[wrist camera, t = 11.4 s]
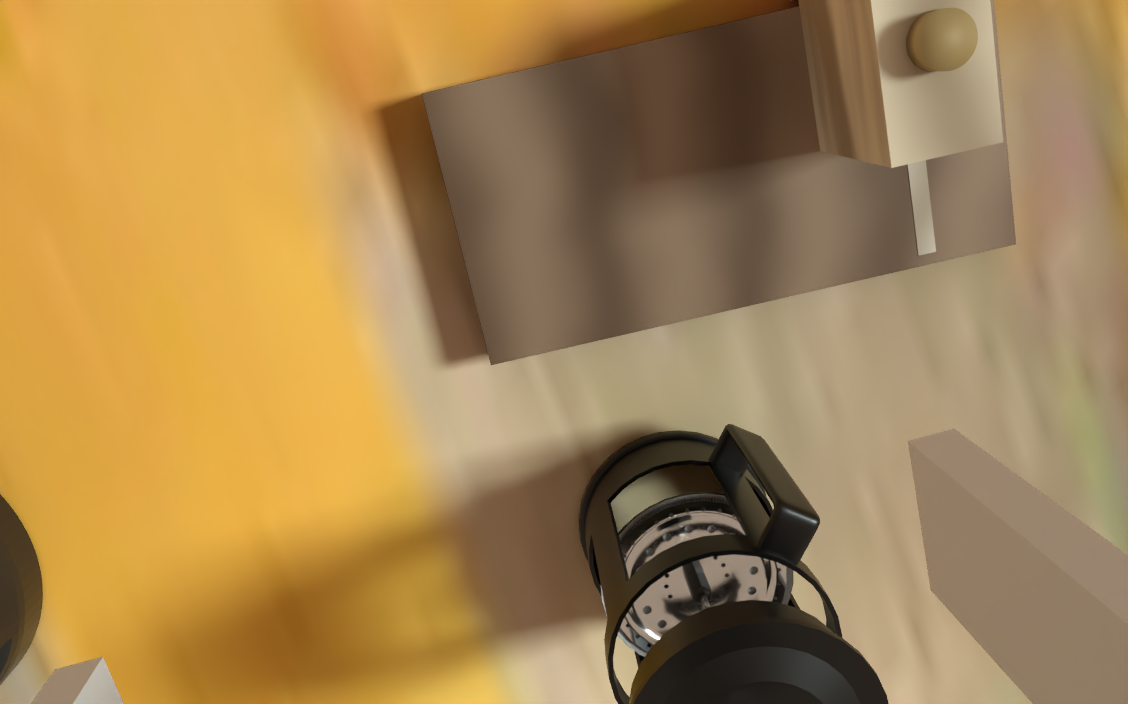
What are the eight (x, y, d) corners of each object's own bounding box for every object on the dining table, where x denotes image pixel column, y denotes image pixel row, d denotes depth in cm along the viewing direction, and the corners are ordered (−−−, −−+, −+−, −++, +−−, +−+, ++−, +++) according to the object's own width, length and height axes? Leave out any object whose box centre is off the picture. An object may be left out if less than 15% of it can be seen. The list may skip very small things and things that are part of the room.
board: (491, 352, 45) (491, 365, 43) (425, 92, 42) (421, 93, 40) (994, 236, 45) (1016, 244, 43) (968, -33, 42) (990, -38, 40)
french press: (709, 638, 50) (870, 1080, 28) (542, 576, 49) (574, 992, 27) (815, 442, 48) (1085, 759, 25) (642, 369, 46) (770, 640, 24)
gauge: (810, 148, 43) (902, 170, 33) (783, -36, 41) (873, -73, 31) (898, 128, 43) (1017, 144, 33) (876, -58, 41) (996, -101, 31)
